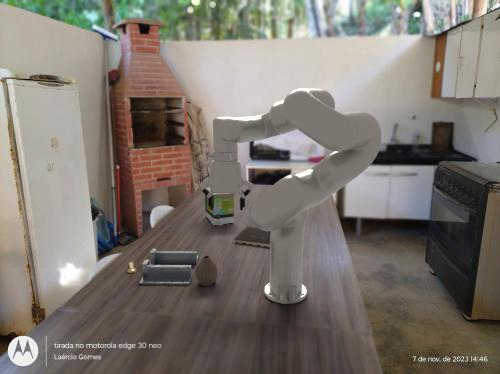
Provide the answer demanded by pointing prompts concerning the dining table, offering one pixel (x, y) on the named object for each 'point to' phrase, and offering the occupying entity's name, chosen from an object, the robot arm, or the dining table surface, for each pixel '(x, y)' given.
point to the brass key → (131, 268)
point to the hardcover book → (254, 236)
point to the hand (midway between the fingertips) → (226, 209)
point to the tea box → (220, 208)
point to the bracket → (168, 268)
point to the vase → (206, 271)
